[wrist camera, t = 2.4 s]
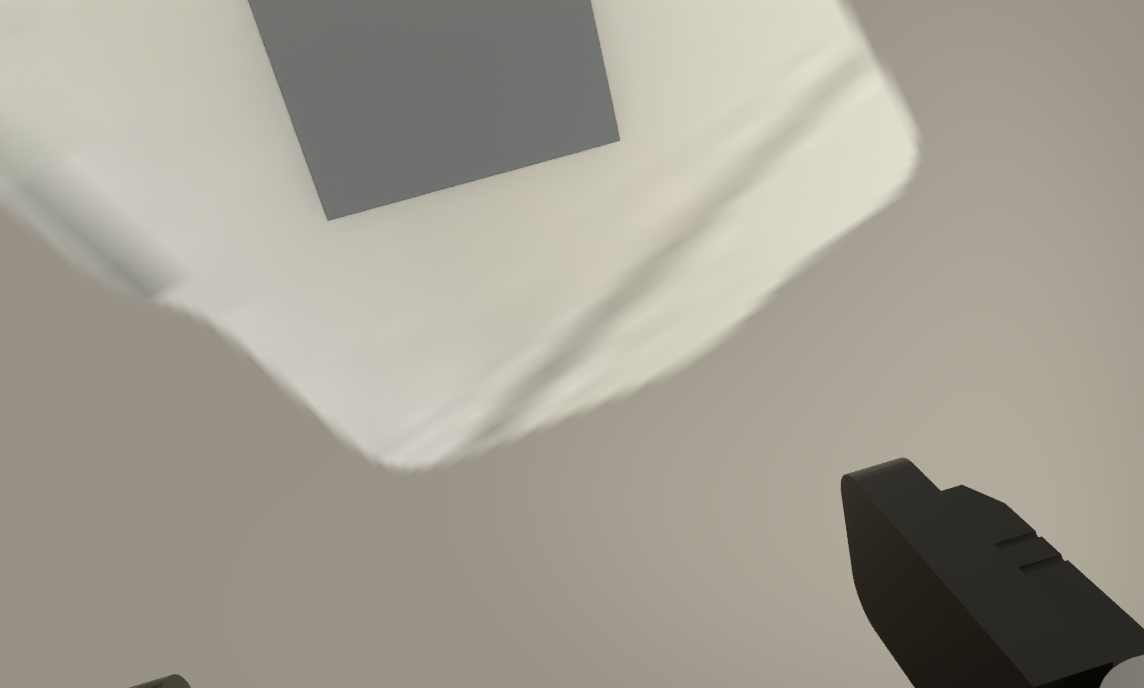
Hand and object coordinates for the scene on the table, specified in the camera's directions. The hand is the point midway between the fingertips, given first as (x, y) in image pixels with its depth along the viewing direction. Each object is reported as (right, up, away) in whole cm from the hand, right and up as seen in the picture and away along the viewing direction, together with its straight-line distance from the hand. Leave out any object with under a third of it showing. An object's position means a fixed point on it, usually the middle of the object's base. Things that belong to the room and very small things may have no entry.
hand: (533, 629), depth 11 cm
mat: (-5, +14, +24) cm, 29 cm away
